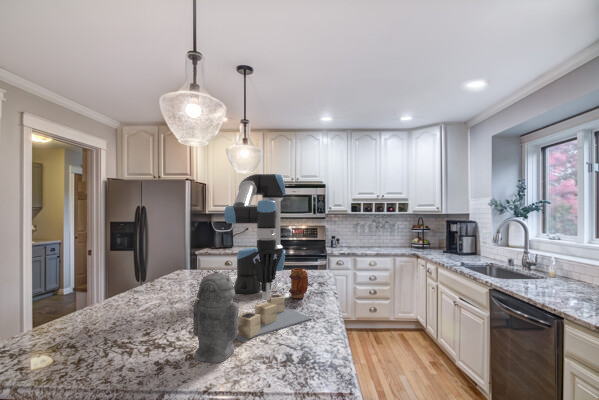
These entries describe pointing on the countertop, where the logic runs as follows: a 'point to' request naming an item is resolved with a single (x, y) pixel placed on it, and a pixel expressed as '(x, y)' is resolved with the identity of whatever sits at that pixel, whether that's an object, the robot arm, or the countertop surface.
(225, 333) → the figurine
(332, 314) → the countertop surface
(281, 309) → the labelled block
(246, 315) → the labelled block
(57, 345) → the countertop surface
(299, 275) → the mug
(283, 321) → the mat
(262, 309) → the plain block
